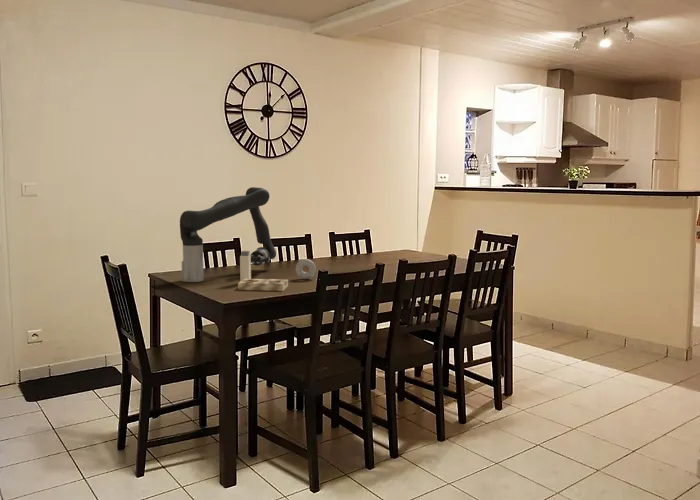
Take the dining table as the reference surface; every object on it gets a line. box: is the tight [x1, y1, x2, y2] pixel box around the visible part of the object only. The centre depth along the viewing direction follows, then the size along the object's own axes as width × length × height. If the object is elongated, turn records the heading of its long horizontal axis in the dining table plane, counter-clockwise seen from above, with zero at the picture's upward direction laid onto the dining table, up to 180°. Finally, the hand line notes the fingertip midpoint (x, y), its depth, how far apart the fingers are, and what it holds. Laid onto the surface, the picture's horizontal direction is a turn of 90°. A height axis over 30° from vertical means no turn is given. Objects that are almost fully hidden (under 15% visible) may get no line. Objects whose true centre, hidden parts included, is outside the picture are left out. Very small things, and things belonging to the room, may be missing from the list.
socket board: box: [237, 278, 289, 292], centre depth 281 cm, size 20×12×3 cm, turn 85°
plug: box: [239, 250, 252, 282], centre depth 293 cm, size 4×4×15 cm
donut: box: [295, 258, 317, 280], centre depth 306 cm, size 10×3×10 cm, turn 86°
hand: (251, 261), depth 304 cm, fingers open, 8 cm apart
